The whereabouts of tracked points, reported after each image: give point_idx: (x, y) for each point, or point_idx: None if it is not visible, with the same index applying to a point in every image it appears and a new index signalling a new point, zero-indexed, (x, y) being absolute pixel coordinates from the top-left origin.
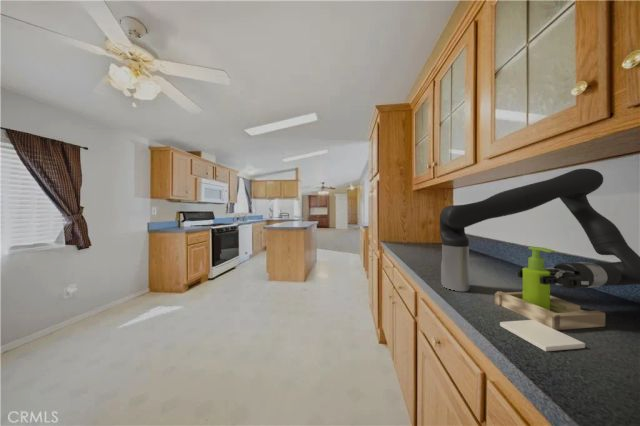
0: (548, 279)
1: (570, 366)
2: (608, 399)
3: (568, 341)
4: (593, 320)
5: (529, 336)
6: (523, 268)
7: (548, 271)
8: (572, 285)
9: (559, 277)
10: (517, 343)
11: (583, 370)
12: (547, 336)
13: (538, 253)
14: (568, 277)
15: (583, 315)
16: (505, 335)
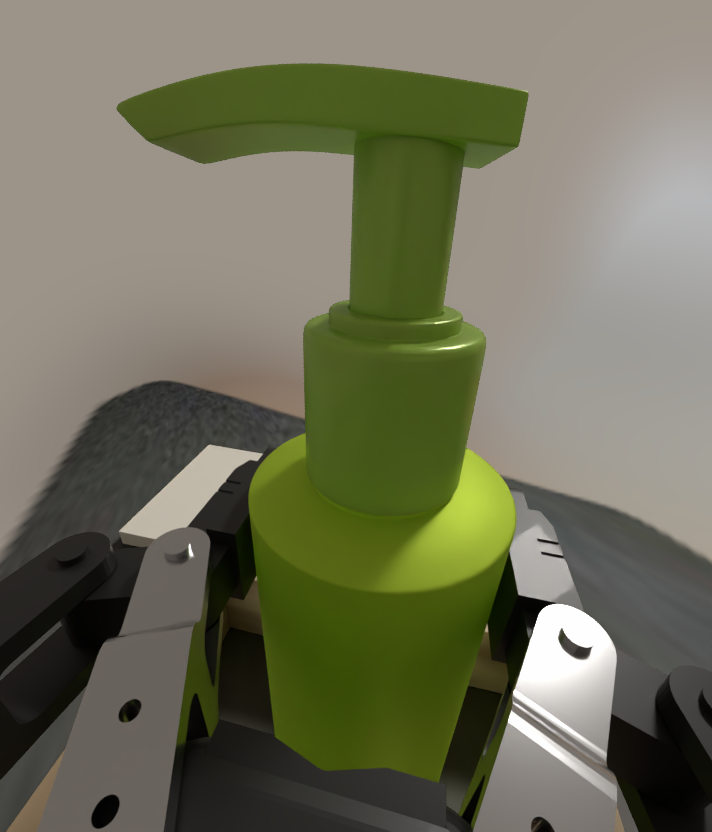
0: (239, 471)
1: (163, 444)
2: (117, 415)
3: (164, 503)
4: None
5: (250, 456)
6: (466, 449)
7: (268, 507)
8: (38, 650)
9: (156, 551)
10: (263, 442)
11: (141, 449)
12: (216, 487)
13: (354, 222)
14: (44, 592)
15: (53, 773)
16: None
